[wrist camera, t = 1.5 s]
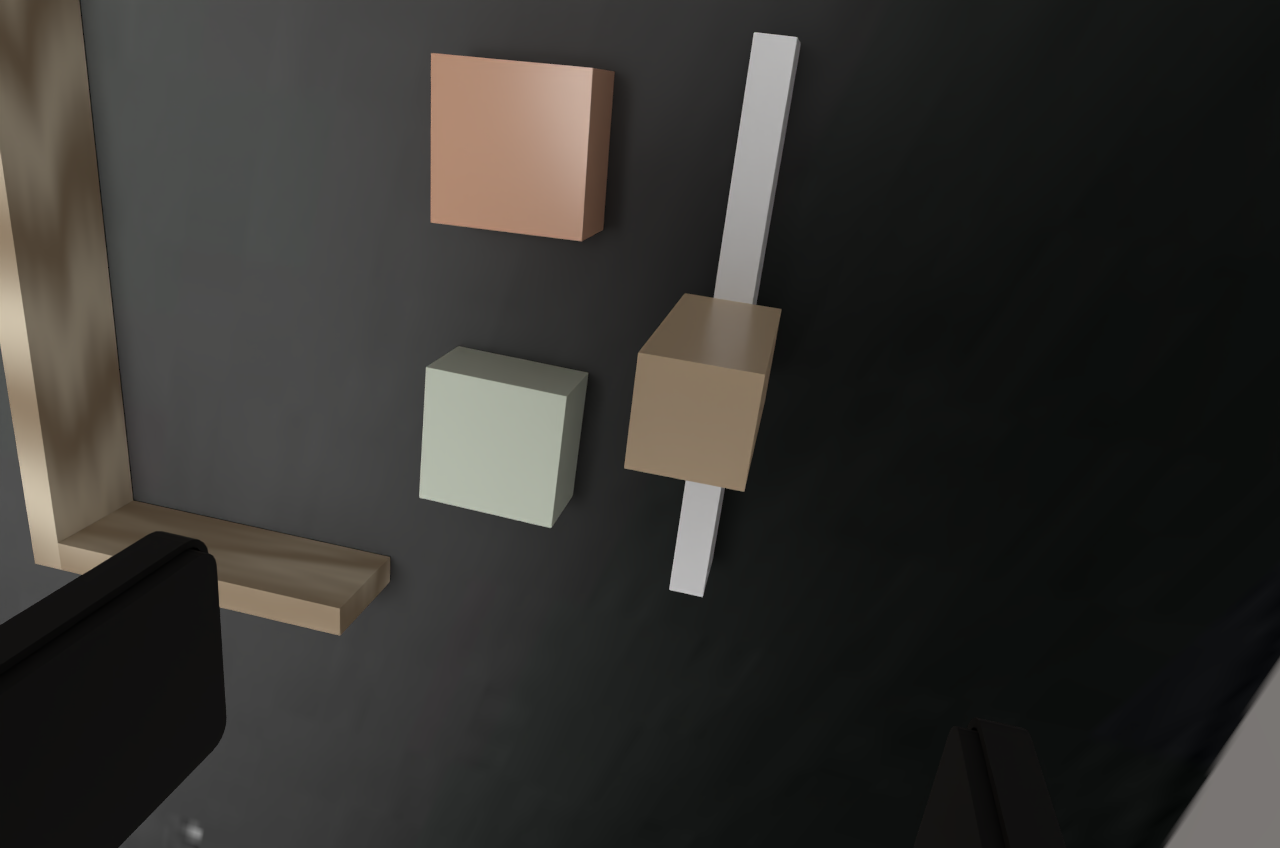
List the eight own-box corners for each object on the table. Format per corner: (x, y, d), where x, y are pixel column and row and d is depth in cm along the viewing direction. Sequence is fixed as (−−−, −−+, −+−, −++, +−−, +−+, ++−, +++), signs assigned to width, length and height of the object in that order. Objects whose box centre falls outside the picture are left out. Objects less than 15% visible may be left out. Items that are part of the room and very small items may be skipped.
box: (27, -188, 29) (-91, -231, 25) (400, -154, 27) (331, -196, 23) (111, 519, 38) (35, 563, 35) (389, 581, 36) (340, 635, 33)
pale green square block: (460, 344, 32) (426, 367, 30) (589, 371, 32) (566, 396, 29) (452, 465, 34) (419, 497, 31) (574, 493, 33) (551, 528, 31)
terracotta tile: (469, 58, 29) (431, 53, 26) (616, 71, 28) (592, 67, 25) (466, 211, 30) (430, 222, 28) (604, 228, 30) (581, 241, 27)
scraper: (733, 36, 27) (681, -1, 18) (830, 47, 26) (829, 16, 17) (659, 544, 33) (594, 711, 24) (736, 561, 33) (699, 737, 24)
